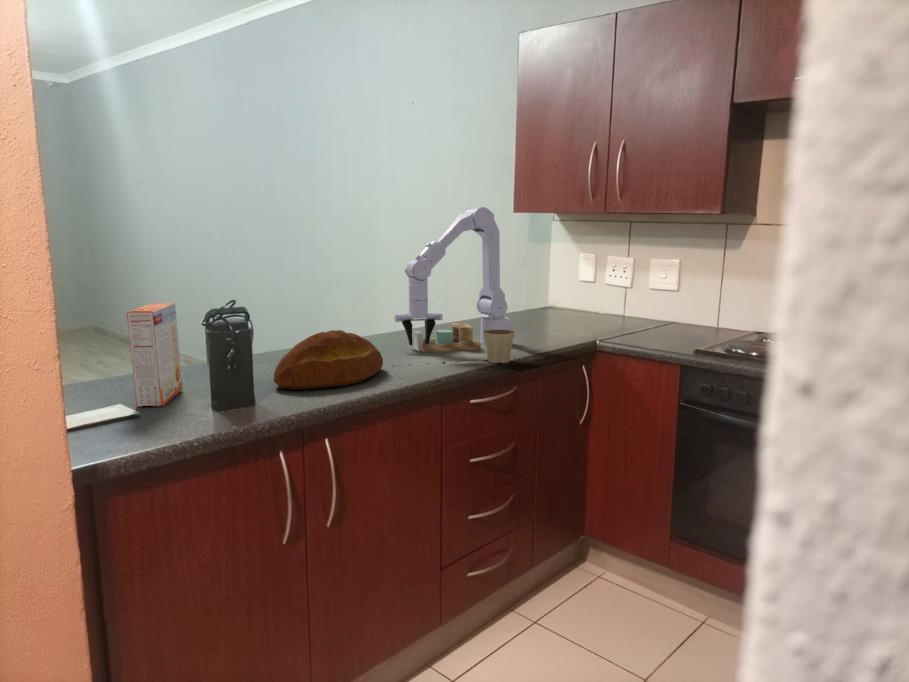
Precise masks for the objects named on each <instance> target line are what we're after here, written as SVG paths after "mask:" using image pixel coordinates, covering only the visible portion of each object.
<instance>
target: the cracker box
mask: <svg viewBox="0 0 909 682" xmlns="http://www.w3.org/2000/svg"><path fill="white" fill-rule="evenodd" d="M126 320H127V321H126V322H127V329H128V330H127V331H128V339H129V348H130V357H131V358H130V359H131V367H132V368H131V370H132V377H133V388H134V393H135V394H134V396H135V406H136V408H143V407H142V406H153V407H154V408H155V406H156V407H164V406H165V405H166V404H168V403H169V402H170V401H171V400H172V399H173V397H174V396H175V395H176V396H177V395H179V394H180V393H181V392H182V391H183V390H182V389H184V388H183V377H182V366H181V356H180V355H181V354H180V346H179V345H180V344H179V343H180V341H179V334H178V323H177V322H178V320H177V311H176V304H175V302H155V303H153V302H152V303H149V304H146V305H143V306H141V307H138V308H137V307H136V309H135V308H134V309H132V310H129V311H126ZM181 390H182V391H181ZM180 391H181V392H180ZM179 392H180V393H179ZM178 393H179V394H178ZM176 396H175V397H176ZM175 397H174V398H175Z"/></svg>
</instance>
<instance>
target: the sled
mask: <svg viewBox="0 0 909 682" xmlns="http://www.w3.org/2000/svg"><path fill="white" fill-rule="evenodd" d="M413 337H414V338H413V339H414V340H413V341H414V342H413V343H414V344H413V347H414V348H415V350H417V351H418V352H422V344H423V339H424V333H422V332H421V331H420V330H414V331H413ZM453 343H454V342H453Z"/></svg>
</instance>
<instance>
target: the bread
mask: <svg viewBox="0 0 909 682" xmlns="http://www.w3.org/2000/svg"><path fill="white" fill-rule="evenodd" d="M383 365H384V359H383V356H382V354H381V352H380V350H379V349H378V348H377V347H376V346H375V344H373V343H372V342H371V341H370V340H368V339H366V338H364V337H362V336H360V335H358V334H356V333H353V332H346V331H344V330H342V329H335V330H333V329H331V330H329V331H328V330H327V331H326V332H325V331H321V332H318V333H316V334H312V335H310V336H308V337H306V338H305V339H302V340H301V341H299V342H298V343H296V344H294V346H293V347H292V348H291V349H290V350H289V351H288V352H287V353H286V354H285V355H284V356H282V358H281V359H280V360H279V362H278V363H277V365H276V366H275V369H274V372H273V383H275V384H276V385H277V386H279V388H281V389H288V390H292V391H293V390H295V391H296V390H310V389H311V390H313V389H322V388H325V387H326V388H337V387H336V386H338V387H341V386H347V385H348V384H349V385H354V384H358V383H360V382H363V381H365V380H367V379H369V378H370V377H372V376H374V375H375V374H377V373H378V372H379V371H380V370H381V369H382V368H383Z"/></svg>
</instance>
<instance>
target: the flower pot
mask: <svg viewBox="0 0 909 682" xmlns="http://www.w3.org/2000/svg"><path fill="white" fill-rule="evenodd" d="M483 333H484V338H485V342H486V344H485V348H486V356H487V363H490V362H491V364H498V363H501V364H507V363H508V364H509V362H510V360H511V352H512V346H513V342H514V339H515V334H516V333H517V332H516V331H515V330H512V329H511V330H505V329H490V330H484V331H483Z"/></svg>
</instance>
